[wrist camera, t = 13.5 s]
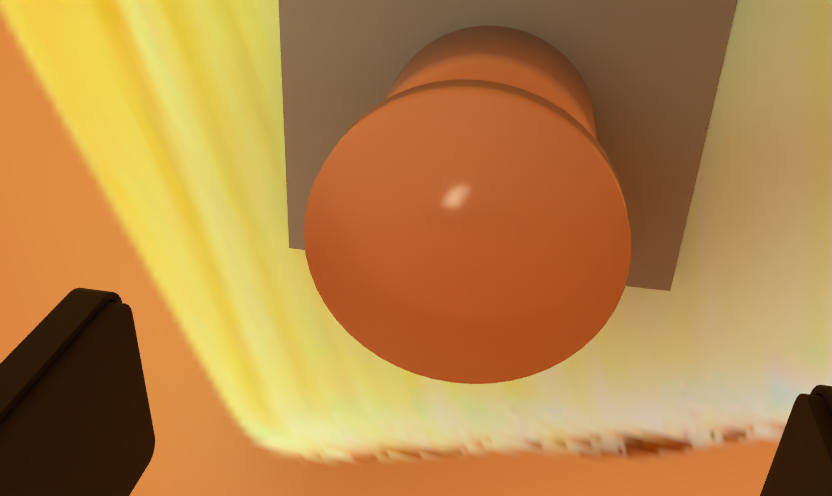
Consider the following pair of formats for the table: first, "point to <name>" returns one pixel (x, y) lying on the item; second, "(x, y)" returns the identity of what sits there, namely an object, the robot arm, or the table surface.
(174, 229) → the table surface
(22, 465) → the robot arm
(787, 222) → the table surface
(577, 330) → the terracotta pot
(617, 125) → the mat
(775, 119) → the table surface
